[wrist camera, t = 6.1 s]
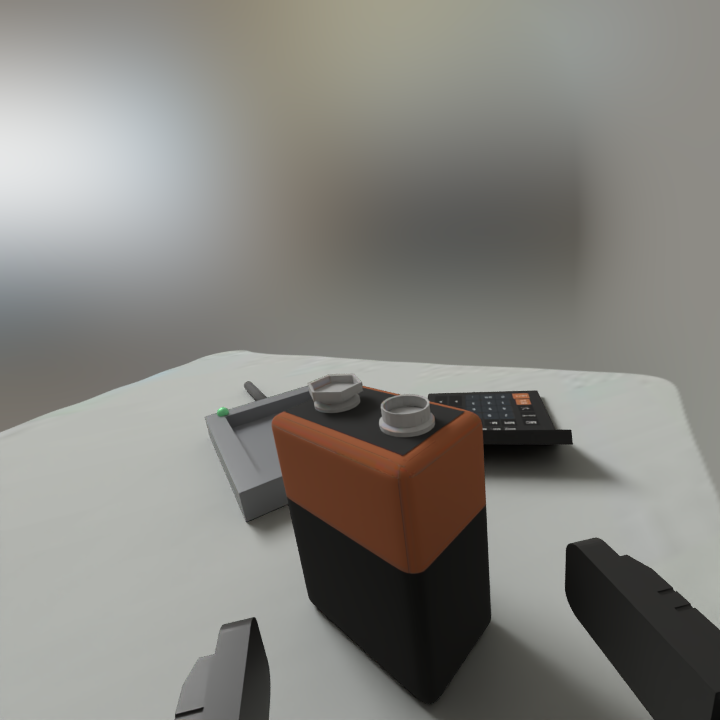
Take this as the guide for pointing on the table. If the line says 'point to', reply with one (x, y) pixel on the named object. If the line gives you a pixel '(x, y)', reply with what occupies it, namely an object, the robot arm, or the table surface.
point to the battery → (390, 523)
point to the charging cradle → (253, 449)
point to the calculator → (508, 416)
